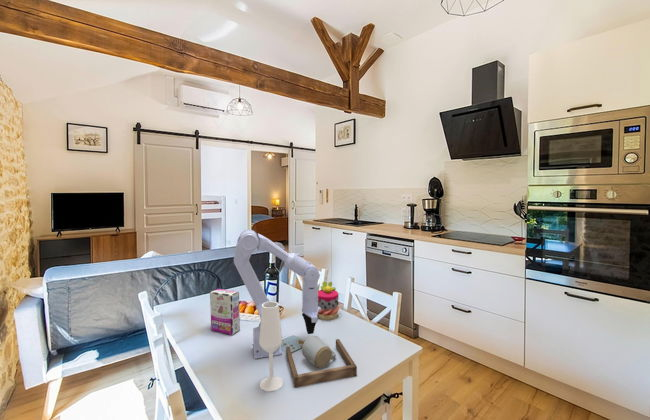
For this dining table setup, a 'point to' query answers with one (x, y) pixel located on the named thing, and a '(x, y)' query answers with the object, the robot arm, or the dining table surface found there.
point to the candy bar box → (225, 311)
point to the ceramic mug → (317, 351)
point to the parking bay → (323, 374)
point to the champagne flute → (270, 341)
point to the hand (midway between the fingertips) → (310, 333)
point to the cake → (328, 302)
